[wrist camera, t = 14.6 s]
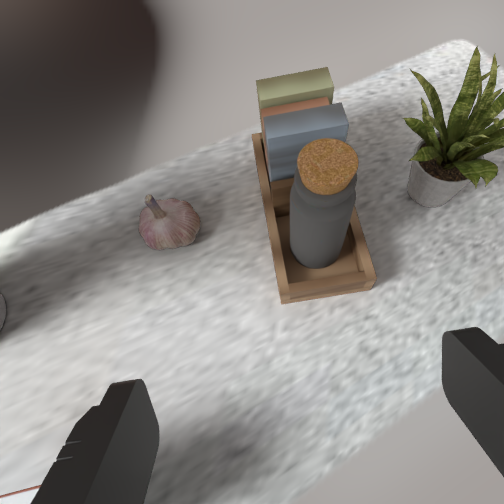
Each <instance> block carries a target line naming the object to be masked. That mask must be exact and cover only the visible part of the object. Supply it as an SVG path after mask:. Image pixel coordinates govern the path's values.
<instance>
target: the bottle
mask: <svg viewBox="0 0 504 504" xmlns="http://www.w3.org/2000/svg"><path fill="white" fill-rule="evenodd" d="M357 168H358V157H357V154H356V152H355V151H354V150H353V148H352V147H351V146H350V145H348V144H347V143H345V142H343V141H341V140H337V139H332V138H323V139H318V140H314V141H312V142H310V143H309V144H307V145H306V146H305V147H303V149H302V150H301V151H300V153H299V155H298V158H297V168H296V170H295V175H294V183H293V185H292V188H291V192H290V249H291V253H292V255H293V257H294V258H295V259H296V261H297V262H299V263H300V264H301V265H303V266H305V267H308V268H312V269H320V268H325V267H327V266H329V265H331V264H332V263H334V262H335V261H336V259H337V258H338V256H339V254H340V252H341V249H342V246H343V242H344V239H345V236H346V232H347V229H348V226H349V222H350V219H351V215H352V212H353V208H354V204H355V199H356V192H355V185H356V181H357V174H356V171H357Z"/></svg>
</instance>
